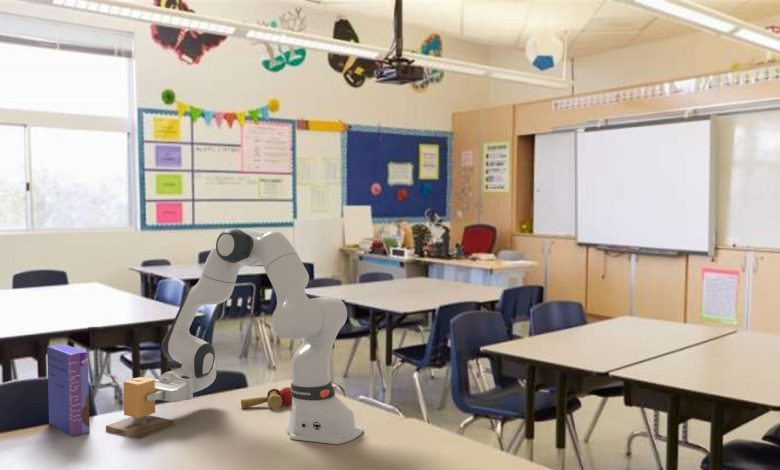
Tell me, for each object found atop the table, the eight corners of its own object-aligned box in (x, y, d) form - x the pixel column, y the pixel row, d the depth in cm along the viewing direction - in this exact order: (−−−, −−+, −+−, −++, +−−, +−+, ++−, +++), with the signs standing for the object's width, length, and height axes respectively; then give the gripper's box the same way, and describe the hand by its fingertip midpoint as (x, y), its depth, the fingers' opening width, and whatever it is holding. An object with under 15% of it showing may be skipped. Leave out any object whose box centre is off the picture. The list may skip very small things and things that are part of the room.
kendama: (242, 416, 210) (298, 404, 214) (239, 397, 211) (295, 385, 215) (243, 413, 218) (296, 402, 222) (240, 394, 219) (293, 383, 223)
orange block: (155, 412, 197) (154, 378, 196) (139, 418, 191) (138, 383, 191) (140, 409, 200) (139, 375, 199) (124, 414, 194) (123, 380, 194)
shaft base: (173, 425, 198) (173, 399, 197) (139, 438, 186) (138, 411, 186) (141, 418, 204) (141, 392, 204) (105, 430, 193) (105, 404, 193)
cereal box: (89, 432, 192) (87, 351, 191) (72, 436, 188) (70, 354, 187) (65, 419, 203) (63, 343, 202) (49, 423, 200) (47, 345, 199)
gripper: (149, 371, 211) (113, 381, 199) (196, 379, 202) (161, 390, 189) (149, 390, 212) (113, 401, 199) (196, 399, 202) (161, 412, 190)
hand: (137, 396), depth 194 cm, fingers closed on orange block, 6 cm apart
